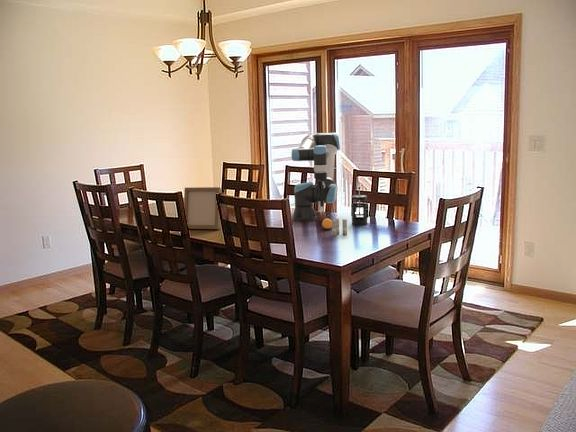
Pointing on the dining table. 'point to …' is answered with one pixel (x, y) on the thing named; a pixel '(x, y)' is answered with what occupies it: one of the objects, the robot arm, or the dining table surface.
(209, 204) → the photo frame
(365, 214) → the french press
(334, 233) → the pin
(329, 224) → the ball
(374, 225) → the dining table surface
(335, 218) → the pin front
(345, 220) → the pin
